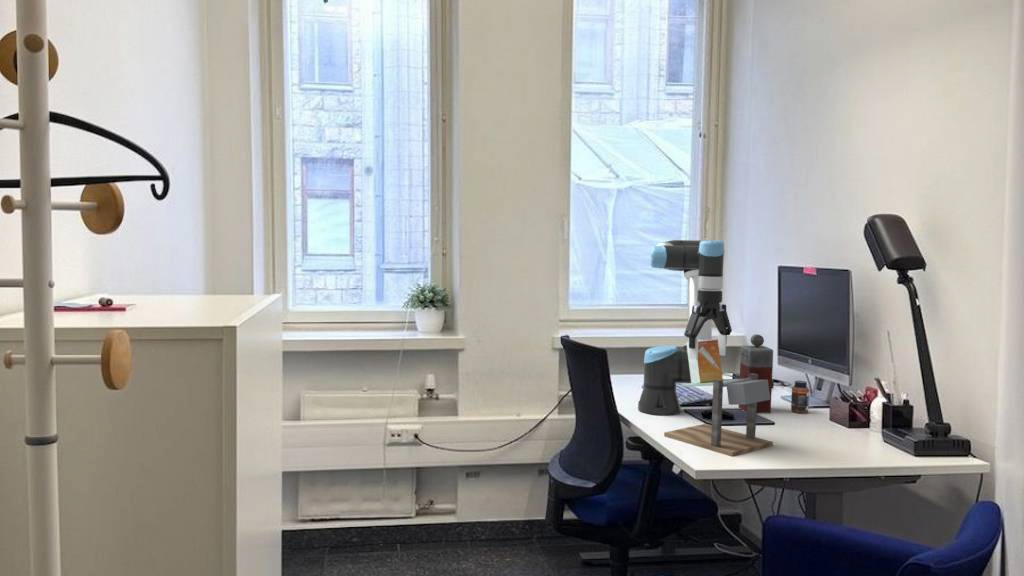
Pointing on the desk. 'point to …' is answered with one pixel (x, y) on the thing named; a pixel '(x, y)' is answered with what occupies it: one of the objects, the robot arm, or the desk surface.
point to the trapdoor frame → (719, 437)
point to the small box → (705, 362)
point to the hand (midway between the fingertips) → (707, 357)
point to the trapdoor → (742, 390)
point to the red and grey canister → (757, 368)
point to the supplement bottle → (800, 397)
